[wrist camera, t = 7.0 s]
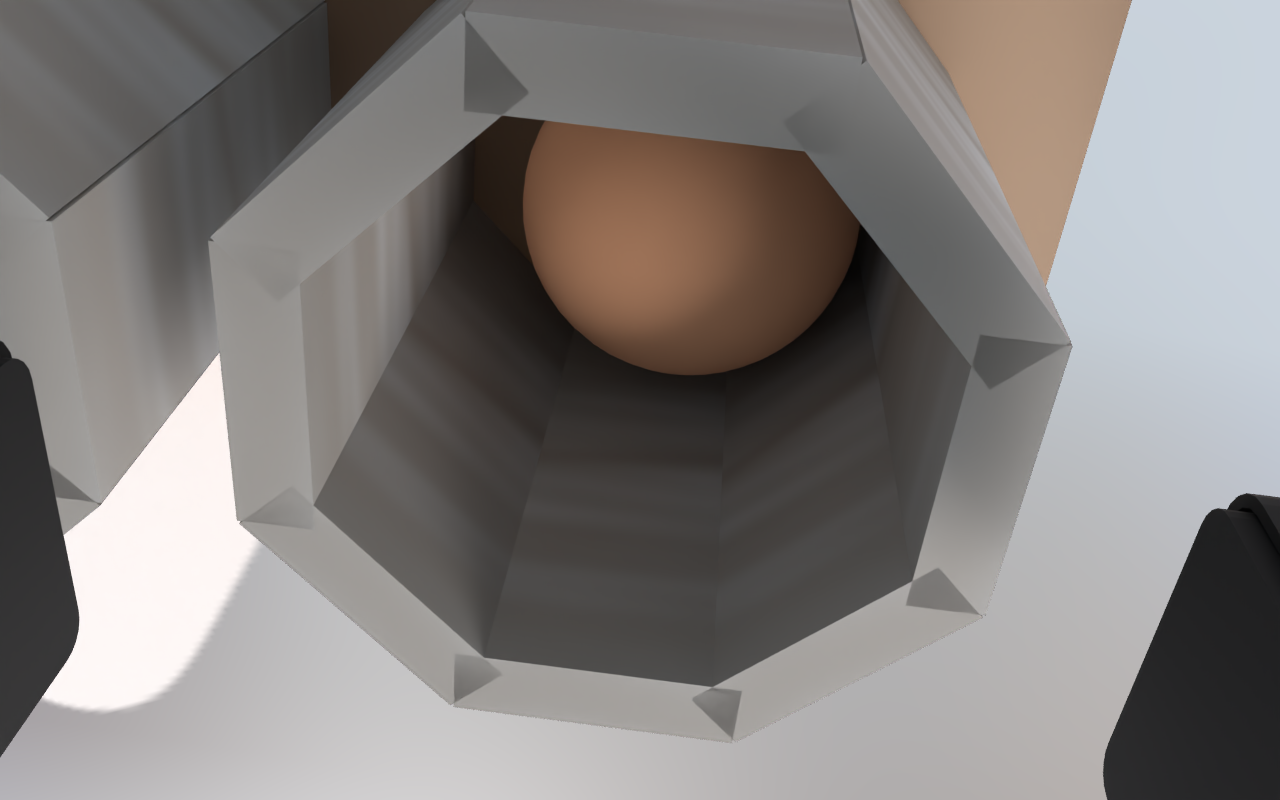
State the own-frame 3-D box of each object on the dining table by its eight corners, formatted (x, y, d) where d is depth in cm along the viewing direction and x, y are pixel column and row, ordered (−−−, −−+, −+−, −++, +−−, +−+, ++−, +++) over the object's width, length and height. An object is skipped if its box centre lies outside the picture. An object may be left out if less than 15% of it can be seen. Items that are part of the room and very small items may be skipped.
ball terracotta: (840, 3, 17) (942, 110, 14) (790, 285, 20) (865, 442, 16) (523, -19, 17) (539, 87, 13) (511, 276, 19) (521, 438, 15)
